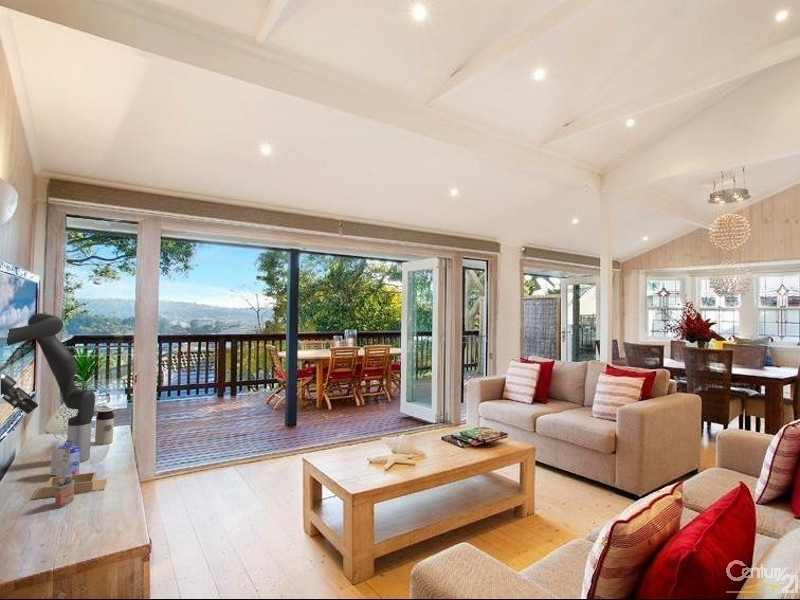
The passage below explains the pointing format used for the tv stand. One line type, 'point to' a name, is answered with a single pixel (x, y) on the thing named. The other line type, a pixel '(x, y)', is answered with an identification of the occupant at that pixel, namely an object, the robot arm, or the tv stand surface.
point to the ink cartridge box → (65, 459)
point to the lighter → (64, 492)
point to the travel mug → (104, 426)
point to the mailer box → (81, 485)
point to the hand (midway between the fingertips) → (33, 409)
